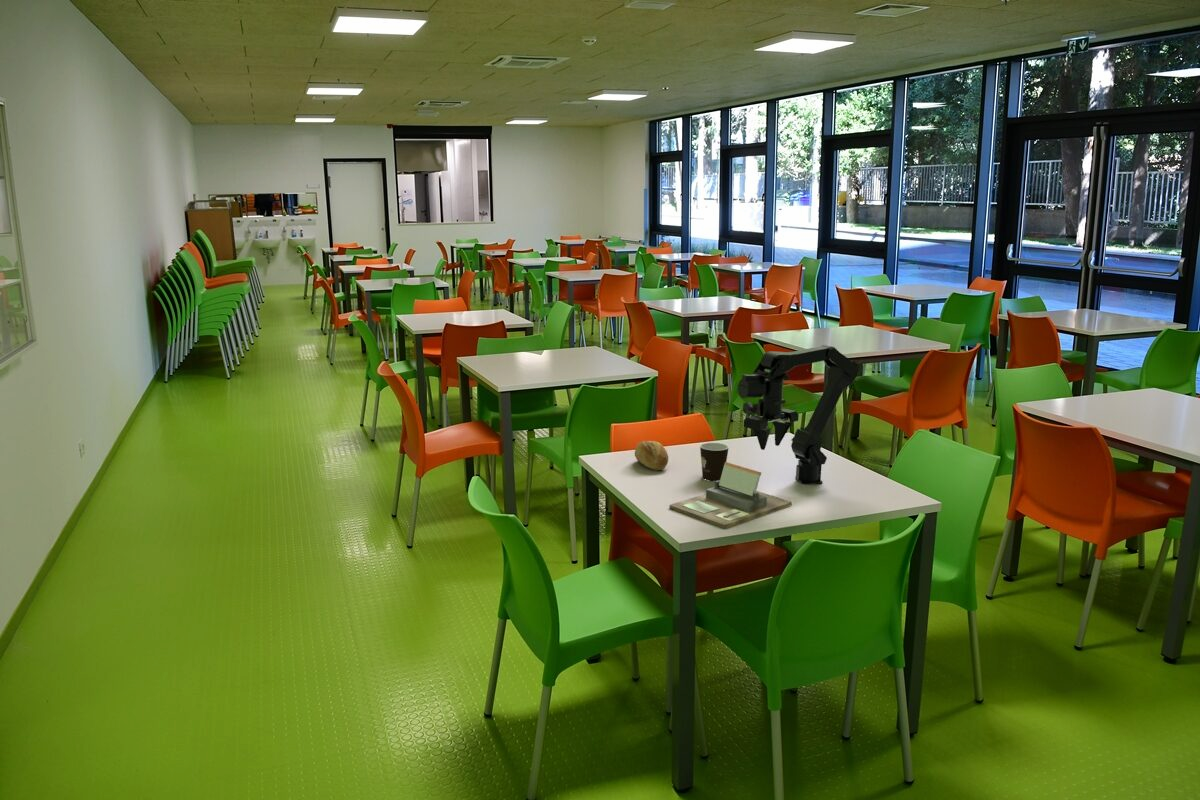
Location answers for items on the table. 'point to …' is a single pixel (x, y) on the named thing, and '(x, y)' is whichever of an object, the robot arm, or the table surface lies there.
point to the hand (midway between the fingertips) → (769, 447)
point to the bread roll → (651, 455)
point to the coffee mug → (713, 460)
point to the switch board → (729, 506)
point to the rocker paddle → (739, 479)
